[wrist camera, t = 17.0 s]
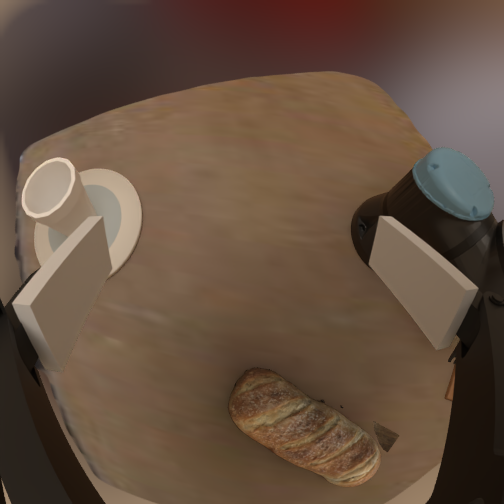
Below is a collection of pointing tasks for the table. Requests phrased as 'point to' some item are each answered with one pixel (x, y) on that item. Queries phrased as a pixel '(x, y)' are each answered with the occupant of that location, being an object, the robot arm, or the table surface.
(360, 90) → the table surface
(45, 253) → the plate
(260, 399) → the bread loaf
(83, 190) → the foam cup
